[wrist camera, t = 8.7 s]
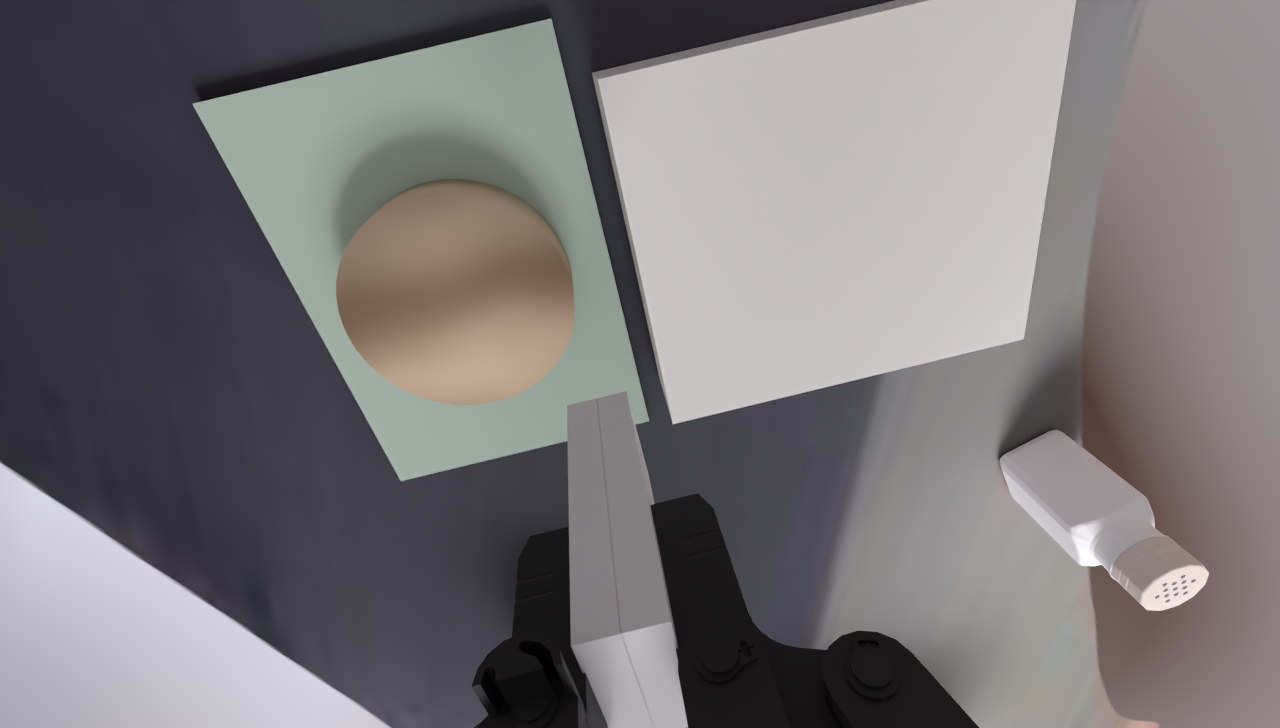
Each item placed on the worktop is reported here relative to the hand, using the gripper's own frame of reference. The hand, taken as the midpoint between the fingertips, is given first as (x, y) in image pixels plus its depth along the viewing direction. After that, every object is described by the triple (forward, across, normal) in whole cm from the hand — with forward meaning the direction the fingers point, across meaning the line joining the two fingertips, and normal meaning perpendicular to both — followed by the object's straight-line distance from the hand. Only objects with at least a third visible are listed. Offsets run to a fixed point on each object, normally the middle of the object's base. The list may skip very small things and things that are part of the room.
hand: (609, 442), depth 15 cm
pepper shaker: (+13, -23, +18) cm, 32 cm away
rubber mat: (+13, +5, -1) cm, 14 cm away
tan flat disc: (+12, +5, -1) cm, 13 cm away
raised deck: (+13, -10, -1) cm, 16 cm away
